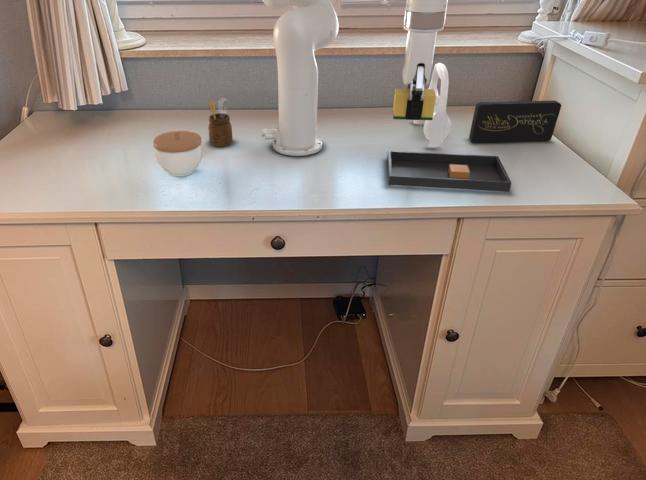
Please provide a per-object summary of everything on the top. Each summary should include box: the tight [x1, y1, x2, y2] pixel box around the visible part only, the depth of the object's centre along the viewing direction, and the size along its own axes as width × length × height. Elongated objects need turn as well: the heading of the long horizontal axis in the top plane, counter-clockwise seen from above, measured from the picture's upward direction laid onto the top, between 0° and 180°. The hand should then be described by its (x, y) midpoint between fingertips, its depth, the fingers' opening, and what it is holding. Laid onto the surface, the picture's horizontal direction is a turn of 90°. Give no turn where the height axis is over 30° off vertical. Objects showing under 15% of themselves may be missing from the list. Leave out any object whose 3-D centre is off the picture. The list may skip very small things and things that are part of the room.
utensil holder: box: [207, 97, 233, 148], centre depth 130 cm, size 6×6×12 cm
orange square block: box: [448, 164, 470, 179], centre depth 115 cm, size 4×4×2 cm
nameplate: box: [468, 100, 562, 144], centre depth 130 cm, size 21×2×10 cm, turn 93°
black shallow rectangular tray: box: [386, 150, 512, 193], centre depth 115 cm, size 25×14×3 cm, turn 82°
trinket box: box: [152, 130, 203, 178], centre depth 116 cm, size 11×11×9 cm
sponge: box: [392, 87, 436, 121], centre depth 108 cm, size 8×5×5 cm, turn 81°
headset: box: [413, 62, 452, 148], centre depth 131 cm, size 20×7×18 cm, turn 173°
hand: (412, 113), depth 109 cm, fingers closed on sponge, 5 cm apart
